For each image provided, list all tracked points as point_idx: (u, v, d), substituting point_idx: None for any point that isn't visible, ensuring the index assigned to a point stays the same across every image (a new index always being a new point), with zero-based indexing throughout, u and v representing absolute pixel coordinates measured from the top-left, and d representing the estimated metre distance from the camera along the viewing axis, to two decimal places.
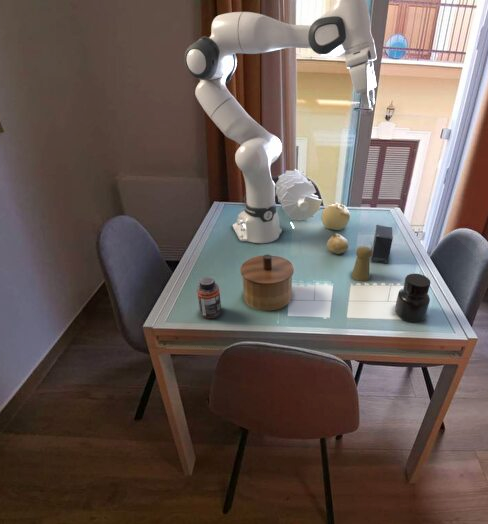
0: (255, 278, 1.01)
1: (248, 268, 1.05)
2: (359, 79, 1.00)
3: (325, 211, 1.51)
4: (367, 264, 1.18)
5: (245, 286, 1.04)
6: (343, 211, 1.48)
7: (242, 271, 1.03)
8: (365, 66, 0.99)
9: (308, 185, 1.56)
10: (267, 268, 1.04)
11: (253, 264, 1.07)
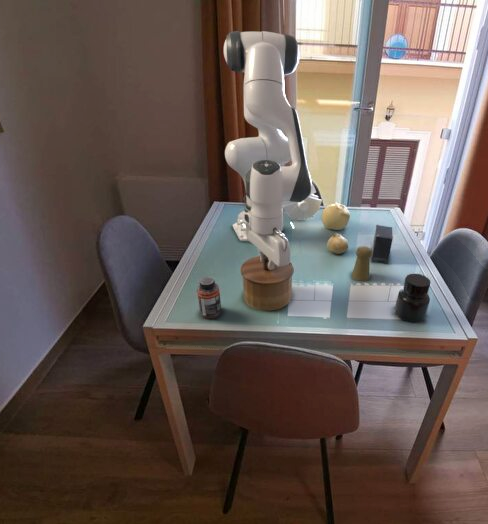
0: (255, 278, 1.01)
1: (248, 268, 1.05)
2: None
3: (325, 211, 1.51)
4: (367, 264, 1.18)
5: (245, 286, 1.04)
6: (343, 211, 1.48)
7: (242, 271, 1.03)
8: None
9: None
10: (267, 268, 1.04)
11: (253, 264, 1.07)
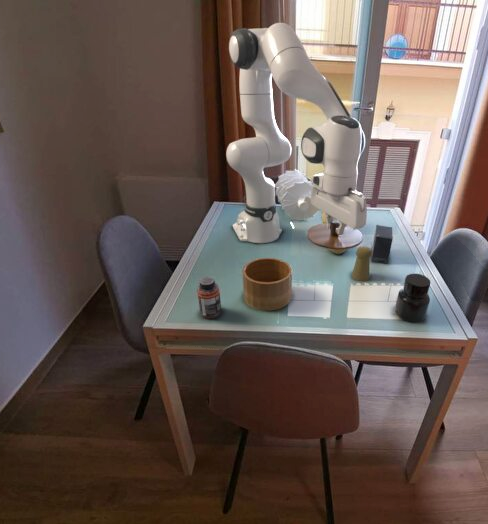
0: (325, 243, 0.96)
1: (315, 234, 1.00)
2: None
3: None
4: (367, 264, 1.18)
5: (245, 286, 1.04)
6: None
7: (310, 237, 0.99)
8: (312, 185, 1.00)
9: (308, 185, 1.56)
10: (335, 234, 0.99)
11: (319, 231, 1.02)
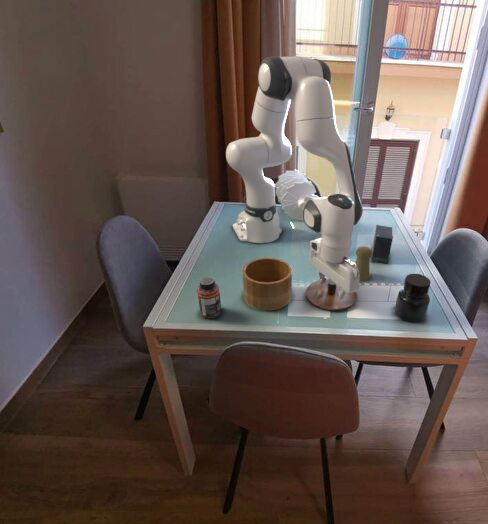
0: (323, 303, 1.06)
1: (314, 293, 1.11)
2: None
3: None
4: (367, 264, 1.18)
5: (245, 286, 1.04)
6: None
7: (308, 296, 1.09)
8: (310, 248, 1.10)
9: (308, 185, 1.56)
10: (332, 293, 1.10)
11: (317, 289, 1.13)
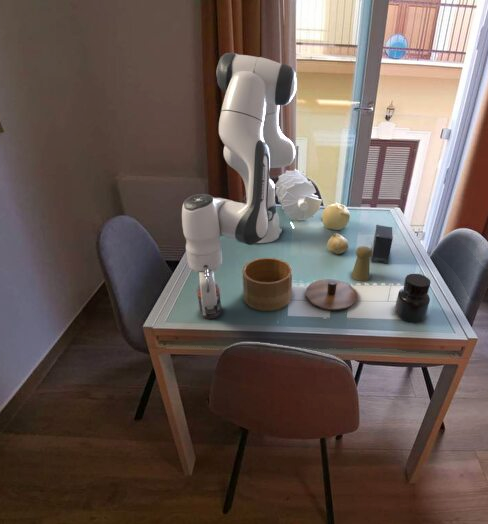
0: (323, 303, 1.06)
1: (314, 293, 1.11)
2: None
3: (325, 211, 1.51)
4: (367, 264, 1.18)
5: (245, 286, 1.04)
6: (343, 211, 1.48)
7: (308, 296, 1.09)
8: None
9: (308, 185, 1.56)
10: (332, 293, 1.10)
11: (317, 289, 1.13)
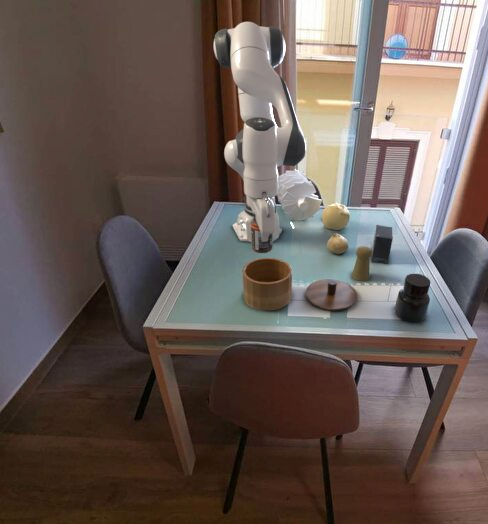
0: (323, 303, 1.06)
1: (314, 293, 1.11)
2: None
3: (325, 211, 1.51)
4: (367, 264, 1.18)
5: (245, 286, 1.04)
6: (343, 211, 1.48)
7: (308, 296, 1.09)
8: None
9: (308, 185, 1.56)
10: (332, 293, 1.10)
11: (317, 289, 1.13)
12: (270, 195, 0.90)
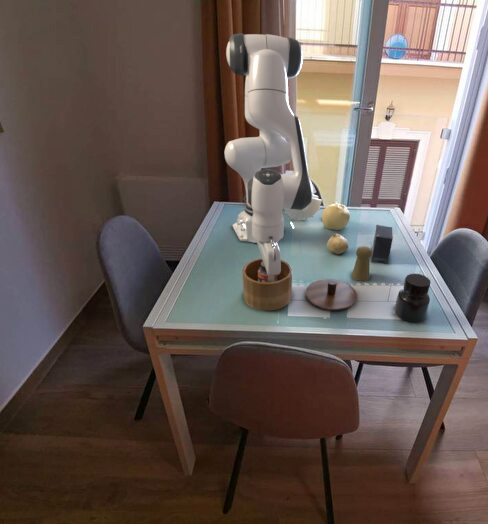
0: (323, 303, 1.06)
1: (314, 293, 1.11)
2: None
3: (325, 211, 1.51)
4: (367, 264, 1.18)
5: (245, 286, 1.04)
6: (343, 211, 1.48)
7: (308, 296, 1.09)
8: None
9: None
10: (332, 293, 1.10)
11: (317, 289, 1.13)
12: (276, 239, 0.98)
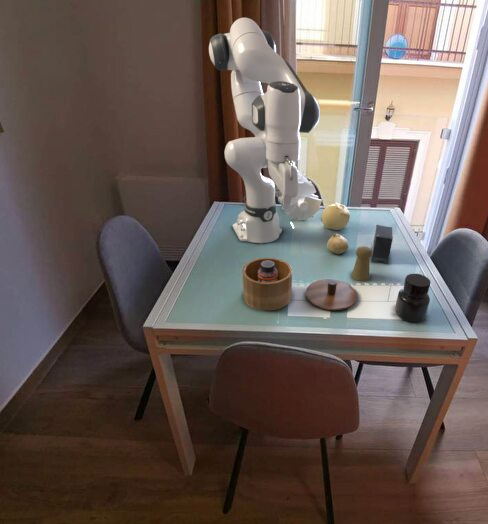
0: (323, 303, 1.06)
1: (314, 293, 1.11)
2: None
3: (325, 211, 1.51)
4: (367, 264, 1.18)
5: (245, 286, 1.04)
6: (343, 211, 1.48)
7: (308, 296, 1.09)
8: None
9: (308, 185, 1.56)
10: (332, 293, 1.10)
11: (317, 289, 1.13)
12: (292, 159, 0.91)
